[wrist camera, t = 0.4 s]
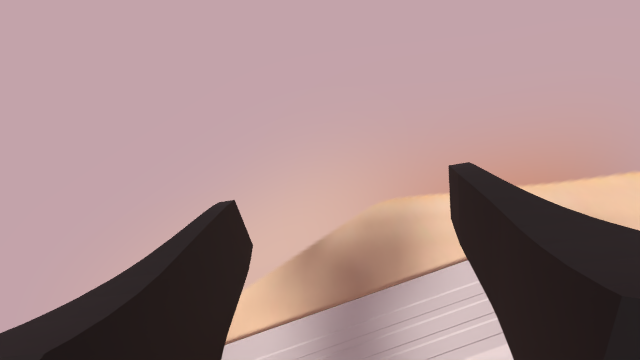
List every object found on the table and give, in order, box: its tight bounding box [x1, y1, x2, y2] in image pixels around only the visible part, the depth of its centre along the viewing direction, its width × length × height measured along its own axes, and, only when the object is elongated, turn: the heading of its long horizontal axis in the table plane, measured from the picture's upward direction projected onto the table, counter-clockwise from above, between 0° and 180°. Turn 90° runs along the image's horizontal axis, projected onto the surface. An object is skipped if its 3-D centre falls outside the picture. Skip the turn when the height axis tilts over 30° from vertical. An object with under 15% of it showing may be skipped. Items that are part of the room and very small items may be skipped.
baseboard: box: [221, 260, 514, 360], centre depth 25 cm, size 30×3×10 cm
